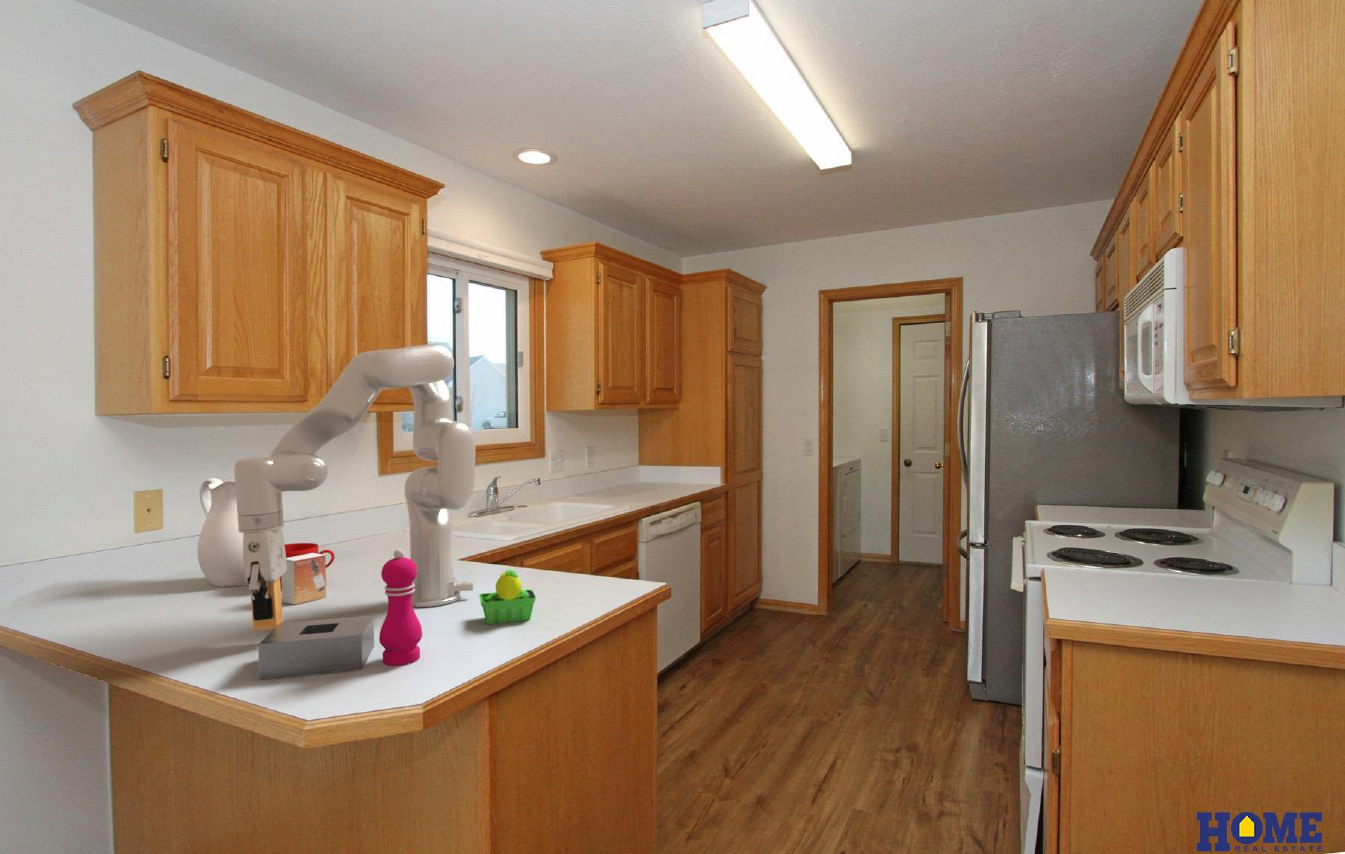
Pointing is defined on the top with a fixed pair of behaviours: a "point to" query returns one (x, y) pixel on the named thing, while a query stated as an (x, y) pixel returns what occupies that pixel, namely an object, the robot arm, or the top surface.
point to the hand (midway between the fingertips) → (267, 614)
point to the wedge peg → (277, 608)
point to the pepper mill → (400, 612)
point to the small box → (304, 578)
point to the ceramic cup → (304, 551)
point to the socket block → (316, 647)
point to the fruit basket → (508, 600)
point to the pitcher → (221, 535)
